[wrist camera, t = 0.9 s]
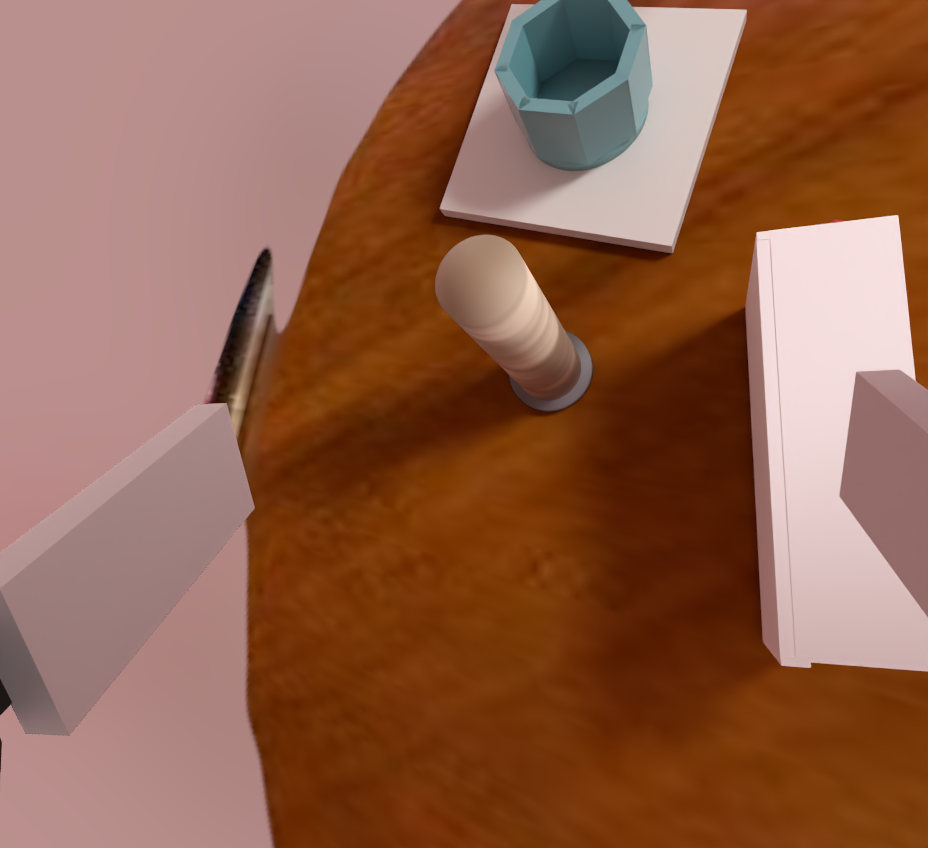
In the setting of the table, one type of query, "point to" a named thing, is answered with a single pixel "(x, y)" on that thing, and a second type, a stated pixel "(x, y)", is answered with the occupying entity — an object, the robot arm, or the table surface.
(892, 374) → the robot arm
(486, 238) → the pillar candle on dish
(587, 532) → the table surface
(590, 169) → the octagonal cup on tile
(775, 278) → the cigarette display
